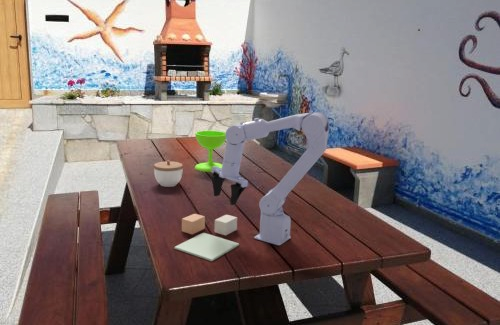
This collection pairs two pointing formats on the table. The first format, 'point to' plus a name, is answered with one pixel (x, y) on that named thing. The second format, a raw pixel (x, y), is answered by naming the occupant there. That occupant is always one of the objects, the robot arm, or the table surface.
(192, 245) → the baseplate
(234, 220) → the cream brick
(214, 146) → the wineglass
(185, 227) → the tan brick
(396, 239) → the table surface
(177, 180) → the lidded bowl
